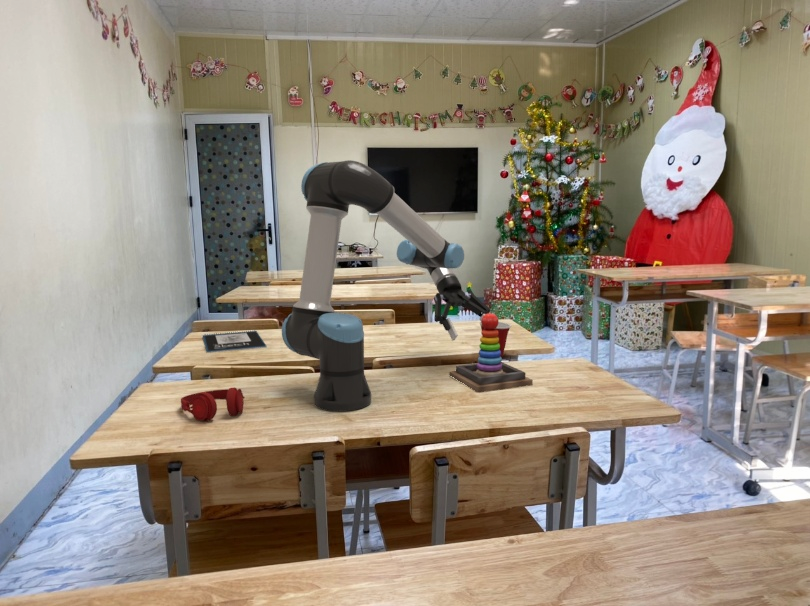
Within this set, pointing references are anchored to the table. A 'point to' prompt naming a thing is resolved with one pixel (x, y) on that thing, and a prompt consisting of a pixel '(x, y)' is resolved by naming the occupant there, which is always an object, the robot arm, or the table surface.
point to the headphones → (213, 403)
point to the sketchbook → (233, 341)
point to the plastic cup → (501, 335)
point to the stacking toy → (489, 348)
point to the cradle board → (490, 378)
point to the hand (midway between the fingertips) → (473, 335)
